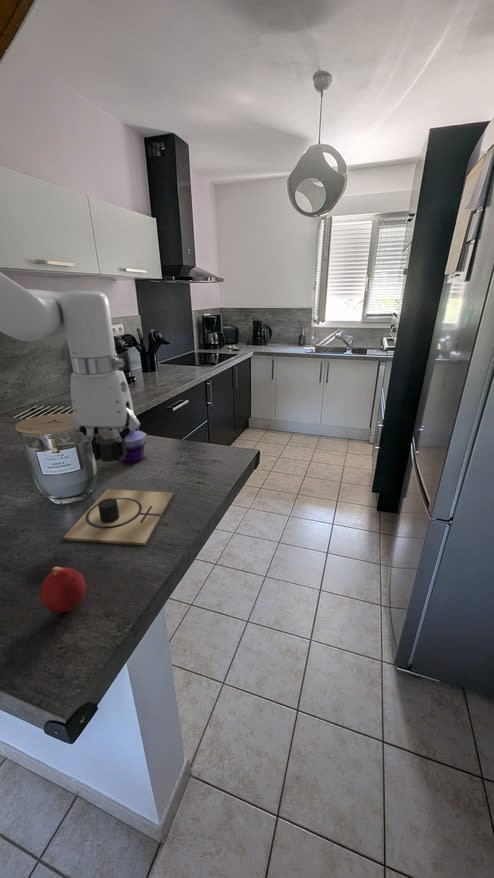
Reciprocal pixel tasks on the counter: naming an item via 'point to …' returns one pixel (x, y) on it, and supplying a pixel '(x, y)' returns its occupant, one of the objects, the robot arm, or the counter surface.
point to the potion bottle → (134, 445)
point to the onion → (62, 589)
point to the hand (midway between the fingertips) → (110, 456)
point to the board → (122, 518)
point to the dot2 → (107, 449)
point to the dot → (108, 510)
